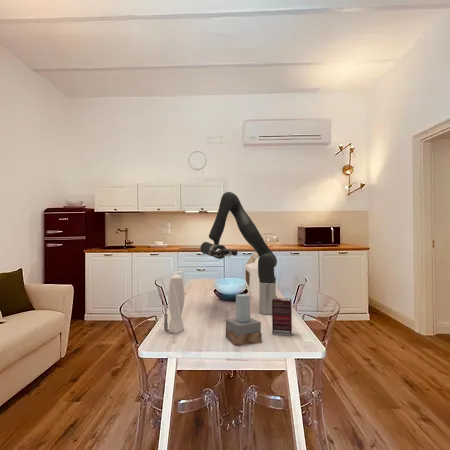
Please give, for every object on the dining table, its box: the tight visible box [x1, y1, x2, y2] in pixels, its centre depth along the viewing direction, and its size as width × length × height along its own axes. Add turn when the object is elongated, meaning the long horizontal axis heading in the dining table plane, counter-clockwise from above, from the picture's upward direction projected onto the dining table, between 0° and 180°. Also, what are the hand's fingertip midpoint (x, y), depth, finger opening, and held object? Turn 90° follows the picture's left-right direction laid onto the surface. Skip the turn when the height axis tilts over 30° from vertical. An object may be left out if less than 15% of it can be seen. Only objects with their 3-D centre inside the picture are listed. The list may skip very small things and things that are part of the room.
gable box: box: [244, 251, 259, 293], centre depth 258 cm, size 22×13×28 cm, turn 8°
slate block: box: [235, 293, 251, 322], centre depth 147 cm, size 5×5×11 cm
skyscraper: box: [163, 270, 185, 335], centre depth 158 cm, size 8×8×28 cm
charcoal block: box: [225, 317, 262, 336], centre depth 147 cm, size 11×11×4 cm
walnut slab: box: [225, 328, 263, 347], centre depth 147 cm, size 12×12×4 cm
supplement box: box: [271, 297, 293, 337], centre depth 154 cm, size 9×5×16 cm, turn 74°
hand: (227, 253), depth 170 cm, fingers open, 8 cm apart
